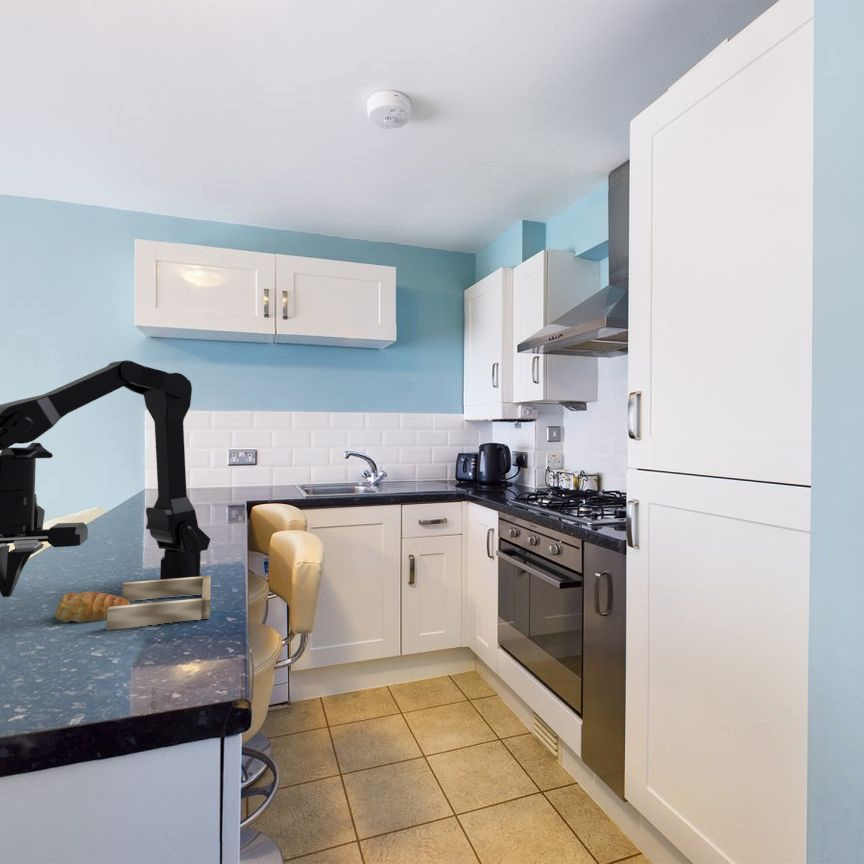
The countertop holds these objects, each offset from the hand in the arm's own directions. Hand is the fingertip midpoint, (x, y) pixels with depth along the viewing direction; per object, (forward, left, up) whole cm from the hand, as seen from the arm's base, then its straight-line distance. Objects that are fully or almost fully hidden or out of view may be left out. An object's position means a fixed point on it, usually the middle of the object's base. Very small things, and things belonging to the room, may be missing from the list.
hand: (7, 596), depth 77 cm
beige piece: (-20, 0, -4) cm, 21 cm away
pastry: (-10, -1, -5) cm, 11 cm away
